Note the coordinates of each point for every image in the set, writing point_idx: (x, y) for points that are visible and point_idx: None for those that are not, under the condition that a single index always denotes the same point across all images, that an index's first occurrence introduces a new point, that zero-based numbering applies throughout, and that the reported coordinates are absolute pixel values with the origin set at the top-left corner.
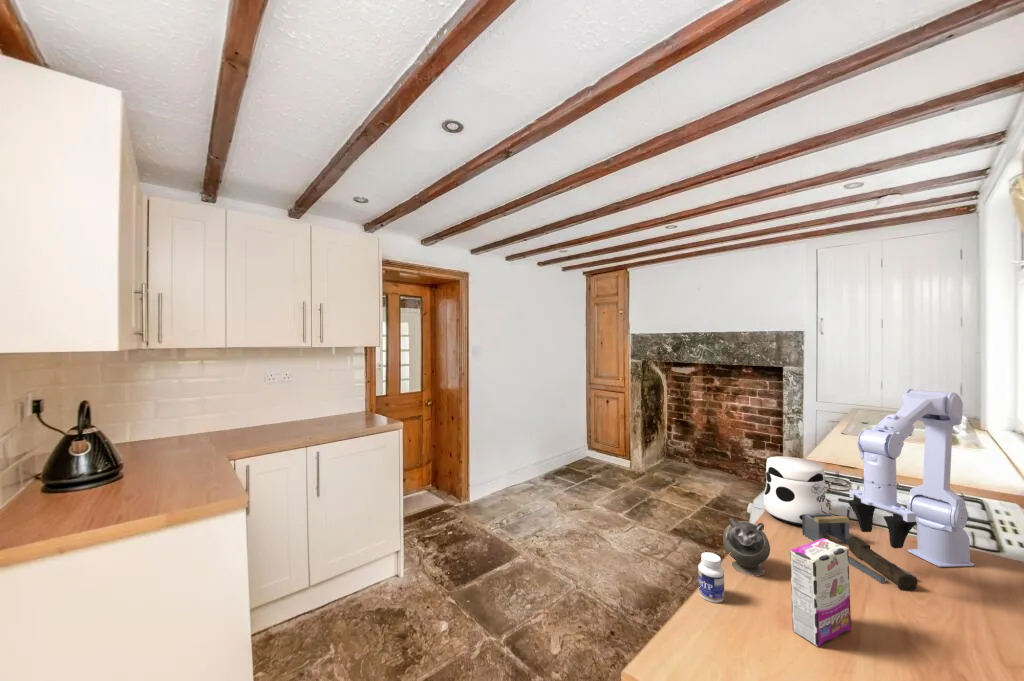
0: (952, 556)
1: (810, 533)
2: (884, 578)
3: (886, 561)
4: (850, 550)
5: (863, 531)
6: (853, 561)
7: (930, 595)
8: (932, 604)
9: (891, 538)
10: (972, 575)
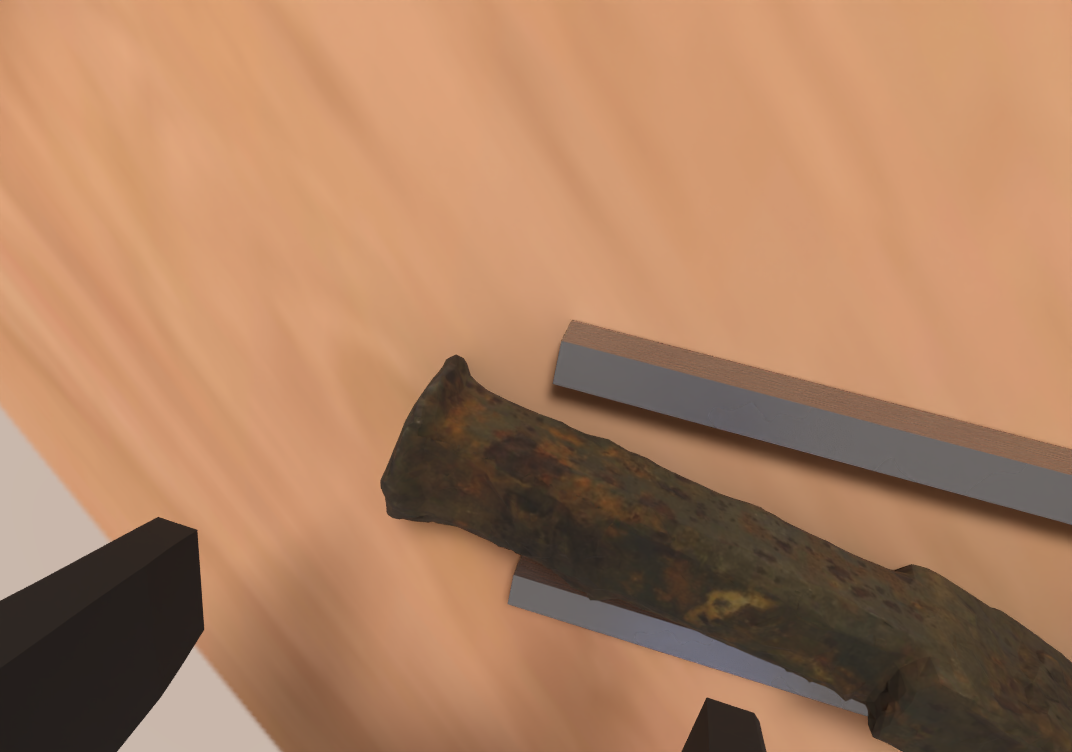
0: None
1: None
2: (555, 371)
3: (637, 583)
4: (1054, 650)
5: (705, 712)
6: (873, 424)
7: (372, 473)
8: (283, 366)
9: (21, 609)
10: None
